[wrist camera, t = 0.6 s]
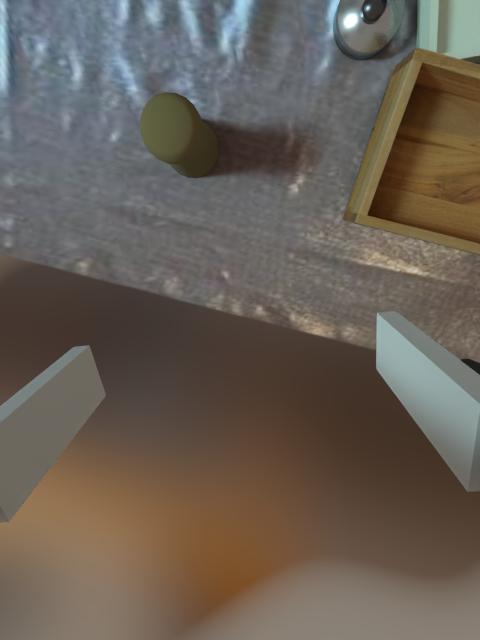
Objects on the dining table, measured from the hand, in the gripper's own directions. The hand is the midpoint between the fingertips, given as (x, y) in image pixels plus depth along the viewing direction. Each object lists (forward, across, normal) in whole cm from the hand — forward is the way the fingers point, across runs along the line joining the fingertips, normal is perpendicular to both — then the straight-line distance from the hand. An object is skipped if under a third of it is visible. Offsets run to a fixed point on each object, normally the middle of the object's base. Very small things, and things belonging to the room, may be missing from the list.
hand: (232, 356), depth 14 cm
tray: (+27, +29, +5) cm, 40 cm away
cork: (+27, -4, +13) cm, 30 cm away
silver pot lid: (+27, +15, +21) cm, 37 cm away
